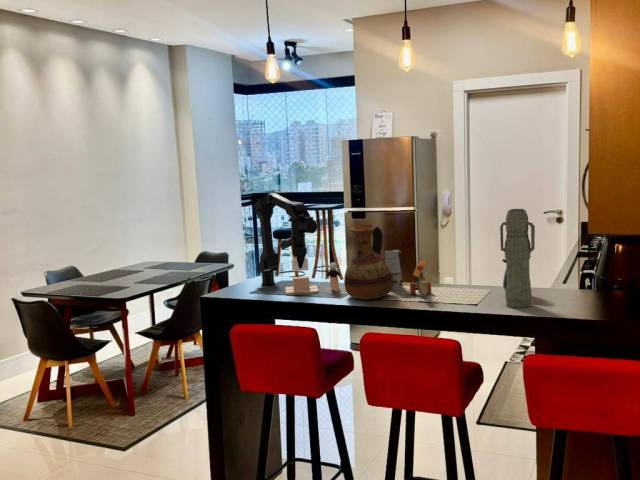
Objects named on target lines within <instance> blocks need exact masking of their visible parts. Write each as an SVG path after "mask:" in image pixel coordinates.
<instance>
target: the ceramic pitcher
mask: <svg viewBox="0 0 640 480" xmlns="http://www.w3.org/2000/svg"><path fill="white" fill-rule="evenodd" d="M349 231H350V232H351V233H352V234H353V235H354V236H355V237H356V238H355V239H356V242H357V243H356V244H357V251H356V254H355V255H354V256H353V257H352V259H350V261H349V263H348V264H347V266H346V269H345V272H344V273H345V274H344V277H343V279H344V280H343V282H344V289H345V292H346V293H347V295H349V296H350V297H352V298H355V299H359V300H372V299H373V300H374V299H377V298H380V297H384V296H385V295H388V294H390V293H391V292H392V291H393V290H392V289H393V276H392V273H391V271H390V269H389V267H388V265H387V264H386V262H385V259H383V258H382V256H381V255H382V248H383V231H382V230H381V228H380V227H379V226H378V225H376V224H373V223H366V224H359V225H358V224H357V225H356V226H352V227H350V228H349Z"/></svg>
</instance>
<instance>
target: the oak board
mask: <svg viewBox="0 0 640 480" xmlns="http://www.w3.org/2000/svg"><path fill="white" fill-rule="evenodd" d="M309 285H310V284H309ZM313 293H315V294H319V287H318V285H317V284H311V285H310V289H308V290H294V288H293V285H292V286H285V296H298V295H299V296H302V295H312V294H313ZM313 295H314V294H313Z"/></svg>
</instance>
